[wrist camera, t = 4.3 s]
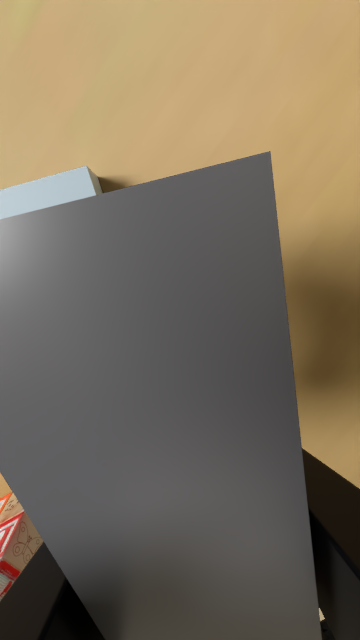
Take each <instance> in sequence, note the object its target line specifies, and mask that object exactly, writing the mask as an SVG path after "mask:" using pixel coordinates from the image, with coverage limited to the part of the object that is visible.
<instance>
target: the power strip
mask: <svg viewBox="0 0 360 640" xmlns="http://www.w3.org/2000/svg"><path fill="white" fill-rule="evenodd" d="M0 472H1V474H2V476H3V477H4V479H5V480H6V482H7V484H8V485H9V487H10V488H11V490H12V492H13V493H14V495H15V496H16V498H17V500H18V501H19V503H20V504H21V506H22V507H23V509H24V511H25V512H26V514H27V515H28V517H29V519H30V520H31V522H32V523H33V525H34V527H35V528H36V530H37V531H38V533H39V535H40V536H41V538H42V539H43V541H44V543H45V544H46V546H47V547H48V549H49V551H50V552H51V554H52V555H53V557H54V559H55V560H56V562H57V563H58V565H59V567H60V568H61V570H62V571H63V573H64V575H65V576H66V578H67V579H68V581H69V583H70V584H71V586H72V587H73V589H74V590H75V592H76V594H77V595H78V597H79V598H80V600H81V602H82V603H83V605H84V606H85V608H86V610H87V611H88V613H89V614H90V616H91V618H92V619H93V621H94V622H95V624H96V626H97V627H98V629H99V630H100V632H101V634H102V635H103V637H104V638H105V640H322V636H321V626H320V617H319V608H318V598H317V589H316V579H315V570H314V560H313V551H312V541H311V532H310V522H309V513H308V503H307V494H306V485H305V475H304V466H303V456H302V447H301V437H300V428H299V418H298V409H297V399H296V390H295V380H294V371H293V361H292V352H291V343H290V333H289V324H288V314H287V305H286V295H285V286H284V276H283V267H282V257H281V248H280V238H279V229H278V219H277V210H276V201H275V191H274V182H273V172H272V163H271V153H270V151H269V152H265V153H261V154H257V155H253V156H249V157H246V158H242V159H238V160H234V161H230V162H226V163H222V164H218V165H214V166H210V167H206V168H202V169H198V170H194V171H190V172H186V173H182V174H178V175H174V176H170V177H166V178H162V179H158V180H154V181H150V182H146V183H142V184H138V185H134V186H130V187H126V188H123V189H119V190H115V191H111V192H107V193H103V194H99V195H95V196H91V197H87V198H83V199H79V200H75V201H71V202H67V203H63V204H59V205H55V206H51V207H47V208H43V209H39V210H35V211H31V212H27V213H23V214H19V215H15V216H11V217H7V218H3V219H0Z"/></svg>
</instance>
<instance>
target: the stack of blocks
mask: <svg viewBox="0 0 360 640" xmlns="http://www.w3.org/2000/svg"><path fill="white" fill-rule="evenodd" d="M42 542H43V539H42V538H41V536H40V535H39V533H38V531H37V530H36V528H35V527H34V525H33V523H32V522H31V520H30V519H29V517H28V515H27V514H26V512H25V511H24V509H23V507H22V506H21V504H20V503H19V501H18V500H17V498H16V496H15V495H14V493H13V492H12V493H9V494H8V495H6V496H4V497H3V498H1V499H0V600H1V599H2V598H3V596H4V595H5V593H6V592H7V591H8V589H9V588H10V586H11V585H12V584H13V582H14V581H15V580H16V578H17V577H18V575H19V574H20V573H21V571H22V570H23V569H24V567H25V566H26V564H27V563H28V562H29V560H30V559H31V558H32V556H33V555H34V553H35V552H36V551H37V549H38V548H39V546H40V545H41V544H42Z"/></svg>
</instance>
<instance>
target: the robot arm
mask: <svg viewBox="0 0 360 640" xmlns="http://www.w3.org/2000/svg"><path fill="white" fill-rule="evenodd" d="M302 456H303V466H304V475H305V485H306V494H307V503H308V513H309V522H310V532H311V541H312V551H313V560H314V570H315V579H316V589H317V598H318V608H320V609H321V611H322V613H323V615H324V618H325V619H324V620H322V621H320V626H321V636H322V640H360V489H359V488H358V487H356V486H355V485H353V484H352V483H351V482H349V481H348V480H346V479H345V478H343V477H342V476H341V475H339V474H338V473H336V472H335V471H334V470H332V469H331V468H329V467H328V466H327V465H325V464H324V463H322V462H321V461H319V460H318V459H317V458H315V457H314V456H312V455H311V454H310V453H308V452H307V451H305V450H304V449H303V448H302ZM0 640H105V638H104V637H103V635H102V634H101V632H100V630H99V629H98V627H97V626H96V624H95V622H94V621H93V619H92V618H91V616H90V614H89V613H88V611H87V610H86V608H85V606H84V605H83V603H82V602H81V600H80V598H79V597H78V595H77V594H76V592H75V590H74V589H73V587H72V586H71V584H70V583H69V581H68V579H67V578H66V576H65V575H64V573H63V571H62V570H61V568H60V567H59V565H58V563H57V562H56V560H55V559H54V557H53V555H52V554H51V552H50V551H49V549H48V547H47V546H46V544H45V543H44V541H43V542H42V544H41V545H40V546H39V548H38V549H37V551H36V552H35V553H34V555H33V556H32V558H31V559H30V560H29V562H28V563H27V564H26V566H25V567H24V569H23V570H22V571H21V573H20V574H19V575H18V577H17V578H16V580H15V581H14V582H13V584H12V585H11V586H10V588H9V589H8V591H7V592H6V593H5V595H4V596H3V598H2V599H1V600H0Z"/></svg>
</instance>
